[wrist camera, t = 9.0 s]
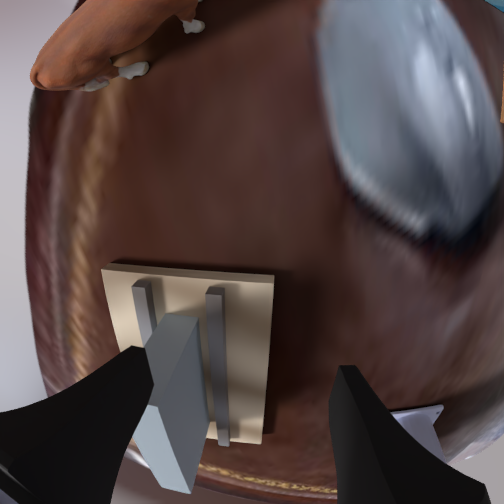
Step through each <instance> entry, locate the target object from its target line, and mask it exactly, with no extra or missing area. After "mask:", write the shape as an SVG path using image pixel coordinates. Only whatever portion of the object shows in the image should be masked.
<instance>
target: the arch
mask: <svg viewBox="0 0 504 504" xmlns="http://www.w3.org/2000/svg"><path fill="white" fill-rule="evenodd" d="M500 122H501V123H504V82H503V100H502V111H501V120H500Z"/></svg>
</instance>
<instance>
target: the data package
mask: <svg viewBox="0 0 504 504" xmlns="http://www.w3.org/2000/svg"><path fill="white" fill-rule="evenodd" d="M485 1H486V2H488V3H490V4H491V5H493V6H494V7H496V8H498V9H499V10H501V11H502V12H504V0H485Z"/></svg>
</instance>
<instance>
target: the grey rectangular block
mask: <svg viewBox="0 0 504 504" xmlns="http://www.w3.org/2000/svg"><path fill="white" fill-rule="evenodd" d="M143 348H145V350H146V354H147V358H148V362H149V366H150V370H151V374H152V378H153V381H154V387H153V390H152V394H151V397H150V400H149V402H148V405H147V408H146V410H145V412H144V414H143V416H142V418H141V420H140V422H139V424H138V426H137V428H136V430H135V432H134V434H133V438H134V440H135V442H136V444H137V446H138V448H139V450H140V452H141V453H142V455H143V457H144V459H145V461H146V462H147V464H148V466H149V468H150V469H151V471H152V473H153V474H154V476H155V478H156V479H157V481H158V482H159V484H160V485H161V487H163V488H167V489H171V490H175V491H180V492H184V493H189V494H191V492H192V488H193V485H194V481H195V477H196V473H197V470H198V466H199V462H200V458H201V455H202V451H203V447H204V443H205V439H206V436H207V432H208V428H209V424H210V418H209V411H208V403H207V395H206V387H205V378H204V369H203V360H202V350H201V339H200V328H199V317H191V316H182V315H174V314H166V313H165V315H164V316H163V318H162V319H161V321H160V322H159V324H158V326H157V327H156V329H155V330H154V332H153V333H152V335H151V336H150V338H149V339H148V341H147V343H146V344H145V346H144V347H143Z"/></svg>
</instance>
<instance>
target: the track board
mask: <svg viewBox="0 0 504 504" xmlns="http://www.w3.org/2000/svg"><path fill="white" fill-rule="evenodd" d="M101 271H102V277H103V282H104V287H105V292H106V297H107V301H108V306H109V310H110V314H111V318H112V322H113V326H114V330H115V334H116V338H117V341H118V345H119V348H120V352H122V351H124V350H125V349H127V348H128V347H130V346H131V345H133V346H138V347H144V346H145V344H146V343H147V341H148V339H149V338H150V336H151V335H152V333H153V332H154V330H155V329H156V327H157V326H158V324H159V322H160V321H161V319H162V318H163V316H164V315H165V313H166V314H174V315H182V316H191V317H199V328H200V339H201V350H202V360H203V369H204V378H205V387H206V395H207V403H208V411H209V418H210V424H209V428H208V432H207V436H206V438H212V439H218V444H219V445H222V446H229V444H230V441H235V442H244V443H255V444H261V439H262V429H263V418H264V407H265V396H266V384H267V372H268V360H269V347H270V334H271V320H272V305H273V290H274V275H260V274H245V273H229V272H215V271H201V270H187V269H174V268H162V267H149V266H137V265H126V264H115V263H109V264H108V265H106V266H105V267H104V268H102V269H101Z"/></svg>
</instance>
